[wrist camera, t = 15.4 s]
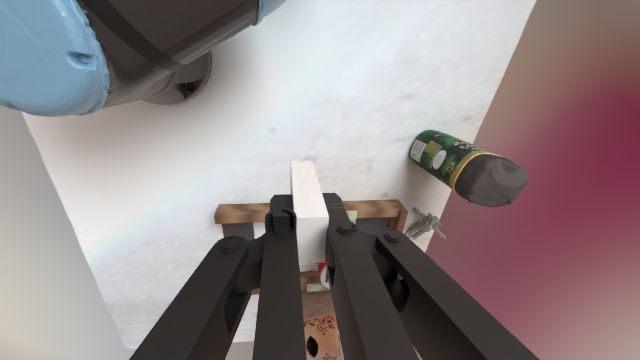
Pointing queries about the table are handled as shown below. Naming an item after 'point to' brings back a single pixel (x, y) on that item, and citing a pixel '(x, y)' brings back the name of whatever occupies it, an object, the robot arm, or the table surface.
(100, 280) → the table surface
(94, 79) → the robot arm
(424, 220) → the grey toy figurine
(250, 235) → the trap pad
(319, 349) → the tissue box cover
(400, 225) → the lane box
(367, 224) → the pad
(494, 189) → the coffee jar
